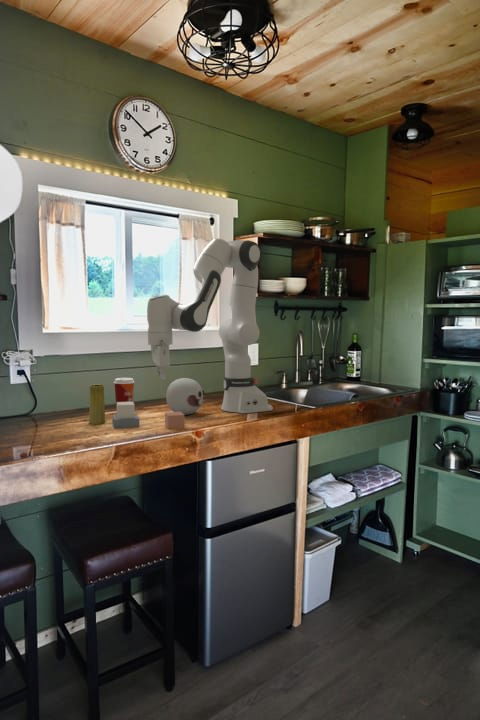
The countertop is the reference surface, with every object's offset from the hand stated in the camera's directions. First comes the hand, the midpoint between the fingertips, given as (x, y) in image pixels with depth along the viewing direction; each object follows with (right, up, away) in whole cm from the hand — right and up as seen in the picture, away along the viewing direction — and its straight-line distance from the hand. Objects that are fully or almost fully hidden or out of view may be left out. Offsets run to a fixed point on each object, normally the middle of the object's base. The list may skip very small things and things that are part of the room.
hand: (161, 377), depth 182 cm
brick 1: (-14, -15, +3) cm, 20 cm away
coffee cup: (-18, -16, +18) cm, 30 cm away
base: (-14, -18, +3) cm, 23 cm away
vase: (-25, -18, +6) cm, 31 cm away
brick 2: (+5, -18, +1) cm, 19 cm away
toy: (+6, -16, +22) cm, 28 cm away
